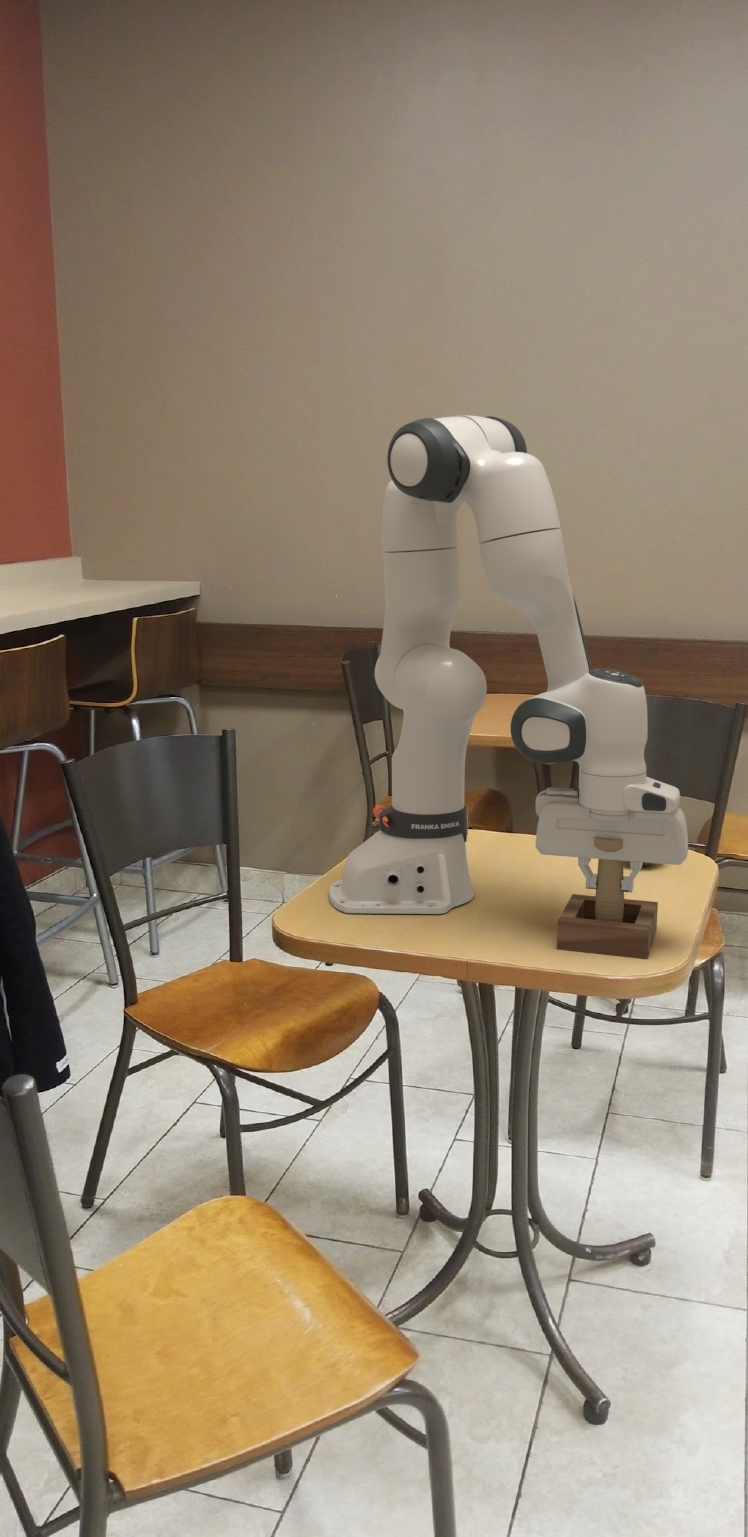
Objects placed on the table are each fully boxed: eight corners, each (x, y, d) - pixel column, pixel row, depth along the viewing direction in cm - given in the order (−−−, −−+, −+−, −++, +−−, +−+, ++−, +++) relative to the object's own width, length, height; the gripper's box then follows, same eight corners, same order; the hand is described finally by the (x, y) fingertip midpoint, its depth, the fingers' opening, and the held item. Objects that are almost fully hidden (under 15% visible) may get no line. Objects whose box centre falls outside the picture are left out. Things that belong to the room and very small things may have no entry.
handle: (630, 933, 161) (634, 830, 158) (620, 949, 156) (624, 842, 152) (596, 928, 163) (599, 826, 160) (585, 944, 158) (588, 838, 154)
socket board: (647, 958, 152) (648, 930, 151) (556, 948, 156) (557, 920, 155) (656, 929, 163) (657, 902, 162) (571, 920, 167) (572, 894, 166)
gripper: (530, 791, 155) (529, 889, 158) (687, 801, 148) (683, 903, 151) (540, 781, 161) (539, 876, 164) (691, 790, 154) (687, 888, 157)
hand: (609, 889), depth 158 cm, fingers closed on handle, 3 cm apart
